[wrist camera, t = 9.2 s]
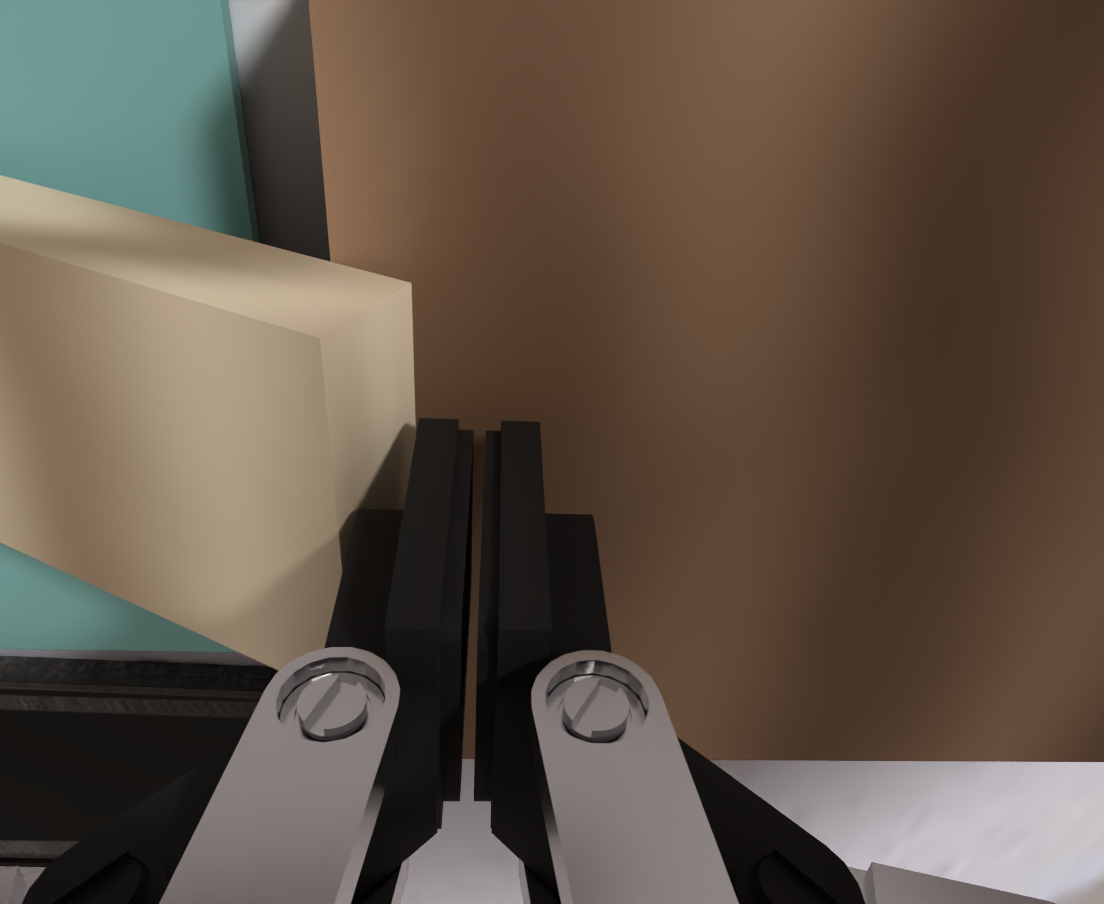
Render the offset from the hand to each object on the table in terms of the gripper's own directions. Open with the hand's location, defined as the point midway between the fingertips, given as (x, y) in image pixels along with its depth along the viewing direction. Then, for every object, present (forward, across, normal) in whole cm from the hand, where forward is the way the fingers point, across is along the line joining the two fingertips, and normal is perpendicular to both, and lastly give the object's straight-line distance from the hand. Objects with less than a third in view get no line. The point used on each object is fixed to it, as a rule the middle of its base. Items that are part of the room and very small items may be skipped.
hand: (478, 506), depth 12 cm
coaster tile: (+2, +5, 0) cm, 6 cm away
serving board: (+5, -7, 0) cm, 9 cm away
